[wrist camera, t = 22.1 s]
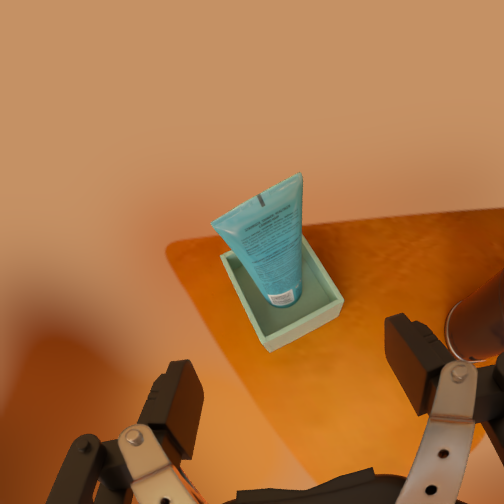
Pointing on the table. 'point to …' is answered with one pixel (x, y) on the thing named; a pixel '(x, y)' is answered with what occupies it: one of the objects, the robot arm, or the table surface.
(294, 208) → the tube
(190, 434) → the robot arm
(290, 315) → the open pale green box
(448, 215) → the table surface
